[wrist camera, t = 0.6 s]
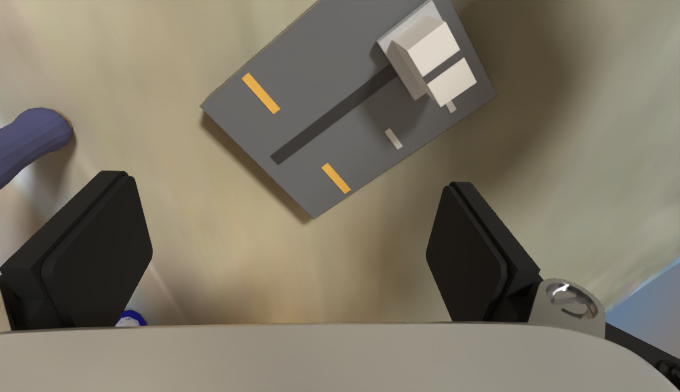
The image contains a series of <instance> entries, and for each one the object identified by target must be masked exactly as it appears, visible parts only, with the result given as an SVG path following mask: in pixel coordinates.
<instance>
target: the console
mask: <svg viewBox="0 0 680 392" xmlns="http://www.w3.org/2000/svg"><path fill="white" fill-rule="evenodd" d="M425 1H427V0H318V1H316V2H315V3H314V4H313V5H312V6H311V7H310V8H308V9H307V10H306V11H305V12H304V13H303V14H302V15H300V16H299V17H298V18H297V19H296V20H295V21H294V22H292V23H291V24H290V25H289V26H288V27H287V28H286V29H284V30H283V31H282V32H281V33H280V34H279V35H278V36H276V37H275V38H274V39H273V40H272V41H271V42H270V43H268V44H267V45H266V46H265V47H264V48H263V49H262V50H260V51H259V52H258V53H257V54H256V55H255V56H254V57H253V58H251V59H250V60H249V61H248V62H247V63H246V64H245V65H243V66H242V67H241V68H240V69H239V70H238V71H237V72H235V73H234V74H233V75H232V76H231V77H230V78H229V79H227V80H226V81H225V82H224V83H223V84H222V85H221V86H219V87H218V88H217V89H216V90H215V91H214V92H213V93H211V94H210V95H209V96H208V97H207V98H206V99H205V101H204V102H203V103H202V104H201V106H200V107H201V108H202V109H203V110H204V111H205V112H206V113H207V114H208V115H209V116H210V117H211V118H212V119H213V120H214V121H215V122H216V123H217V124H218V125H219V126H220V127H221V128H222V129H223V130H224V131H225V132H226V133H227V134H228V135H229V136H230V137H231V138H232V139H233V140H234V141H235V142H236V143H237V144H238V145H239V146H240V147H241V148H242V149H243V150H244V151H245V152H246V153H247V154H248V155H249V156H250V157H251V158H252V159H253V160H254V161H255V162H256V163H257V164H258V165H259V166H260V167H261V168H262V169H263V170H264V171H265V172H266V173H267V174H268V175H269V176H270V177H271V178H272V179H273V180H274V181H275V182H276V183H278V184H279V185H280V186H281V187H282V188H283V189H284V190H285V191H286V192H287V193H288V194H289V195H290V196H291V197H292V198H293V199H294V200H295V201H296V202H297V203H298V204H299V205H300V206H301V207H302V208H303V209H304V210H305V211H306V212H307V213H308V214H309V215H310V216H311V217H312V218H313V219H315V218H317V217H318V216H319V215H321V214H322V213H324V212H325V211H327V210H328V209H330V208H331V207H333V206H334V205H336V204H337V203H339V202H340V201H342V200H343V199H345V198H346V197H348V196H349V195H351V194H352V193H354V192H355V191H357V190H358V189H360V188H361V187H363V186H364V185H365V184H367V183H368V182H370V181H371V180H373V179H374V178H376V177H377V176H379V175H380V174H382V173H383V172H385V171H386V170H388V169H389V168H391V167H392V166H394V165H395V164H397V163H398V162H400V161H401V160H403V159H404V158H406V157H407V156H409V155H410V154H411V153H413V152H414V151H416V150H417V149H419V148H420V147H422V146H423V145H425V144H426V143H428V142H429V141H431V140H432V139H434V138H435V137H437V136H438V135H440V134H441V133H443V132H444V131H446V130H447V129H449V128H450V127H452V126H453V125H455V124H456V123H457V122H459V121H460V120H462V119H463V118H465V117H466V116H468V115H469V114H471V113H472V112H474V111H475V110H477V109H478V108H480V107H481V106H483V105H484V104H486V103H487V102H489V101H490V100H492V99H493V98H495V97H496V96H497V94H496V92H495V90H494V88H493V86H492V84H491V82H490V80H489V78H488V76H487V74H486V72H485V70H484V68H483V66H482V64H481V61H480V59H479V57H478V55H477V53H476V51H475V49H474V47H473V45H472V43H471V41H470V39H469V37H468V35H467V33H466V31H465V29H464V27H463V25H462V23H461V21H460V19H459V17H458V15H457V13H456V11H455V8H454V6H453V4H452V2H451V0H432V1H433V3H434V5H435V7H436V9H437V11H438V12H439V14H440V16H441V18H442V20H443V21H446V23H447V25H448V27H449V29H450V31H451V33H452V35H453V37H454V39H455V41H456V43H457V45H458V47H459V49H461V50H462V52H463V54H464V56H465V57H464V58H465V60H466V62H467V64H468V66H469V68H470V70H471V72H472V74H473V76H474V78H475V80H476V83H475V84H473V85H472V86H471V87H469V88H468V89H466V90H465V91H463V92H462V93H461V94H459V95H458V96H456V97H455V98H453V99H452V100H450V101H449V102H448V103H446V104H445V105H443V106H442V107H440V106H439V105H438V104H437V103H436V102H435V101H434V100H433V99H432V98H431V97H430V96H429V95H428V94H427V93H425V94H424V95H422V96H421V97H420V98H418V99H417V100H414V99H413V98H412V96H411V95H410V93H409V92H408V90H407V88H406V87H405V85H404V84H403V82H402V81H401V79H400V77H399V76H398V74H397V73H396V71H395V70H394V68H393V66H392V65H391V63H390V62H389V60H388V59H387V57H386V55H385V54H384V52H383V51H382V49H381V48H380V46H379V44H378V43H377V41H376V40H378V39H379V38H380V37H381V36H383V35H384V34H385V33H386V32H388V31H389V30H390V29H391V28H393V27H394V26H395V25H396V24H398V23H399V22H400V21H401V20H403V19H404V18H405V17H406V16H408V15H409V14H410V13H411V12H413V11H414V10H415V9H417V8H418V7H419V6H420V5H422V4H423V3H424V2H425Z"/></svg>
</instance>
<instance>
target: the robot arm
mask: <svg viewBox="0 0 680 392" xmlns="http://www.w3.org/2000/svg"><path fill="white" fill-rule="evenodd" d="M152 254H153V249H152V244H151V240H150V236H149V233H148V229H147V225H146V221H145V217H144V213H143V209H142V205H141V201H140V197H139V193H138V189H137V185H136V182H135V179H134V178H133V177H132V176H128V174H127V173H126V172H125V171H101V172H99V173H98V174H97V175H96V176H95V177H94V178H93V179H92V180H91V181H90V182H89V183H88V184H87V185H86V186H85V187H83V188H82V189H81V190H80V191H79V192H78V193H77V194H76V195H75V196H74V197H73V198H72V199H71V200H70V201H69V202H68V203H67V204H66V205H65V206H64V207H63V208H62V209H60V210H59V211H58V212H57V213H56V214H55V215H54V216H53V217H52V218H51V219H50V220H49V221H48V222H47V223H46V224H45V225H44V226H43V227H42V228H41V229H40V230H39V231H37V232H36V233H35V234H34V235H33V236H32V237H31V238H30V239H29V240H28V241H27V242H26V243H25V244H24V245H23V246H22V247H21V248H20V249H19V250H18V251H17V252H16V253H14V254H13V255H12V256H11V257H10V258H9V259H8V260H7V261H6V262H5V263H4V264H3V265H2V266H1V267H0V271H1V273H2V275H1V276H0V392H680V359H678V358H676V357H674V356H672V355H670V354H668V353H666V352H664V351H662V350H660V349H658V348H656V347H654V346H652V345H650V344H648V343H646V342H644V341H642V340H640V339H638V338H636V337H634V336H632V335H630V334H628V333H626V332H624V331H622V330H620V329H618V328H616V327H614V326H612V325H610V324H608V323H606V314H605V309H604V307H603V306H602V304H601V303H600V301H599V300H598V299H597V298H596V297H595V296H594V295H593V294H591V293H590V292H589V291H587V290H586V289H584V288H583V287H581V286H579V285H577V284H575V283H572V282H569V281H566V280H563V279H556V278H553V279H546V280H543V279H542V278H541V276H540V275H539V274H538V273H539V271H540V268H539V267H538V266H537V265H536V263H535V262H534V261H533V260H532V258H531V257H530V256H529V255H528V253H527V252H526V251H525V250H524V248H523V247H522V246H521V245H520V243H519V242H518V241H517V240H516V238H515V237H514V236H513V235H512V233H511V232H510V231H509V230H508V228H507V227H506V226H505V225H504V223H503V222H502V221H501V220H500V218H499V217H498V216H497V215H496V213H495V212H494V211H493V210H492V208H491V207H490V206H489V205H488V203H487V202H486V201H485V200H484V198H483V197H482V196H481V195H480V193H479V192H478V191H477V190H476V188H475V187H474V186H473V185H472V184H471V183H470V182H451V183H450V184H449V186H445V187H444V189H443V192H442V195H441V199H440V203H439V206H438V210H437V214H436V217H435V221H434V224H433V228H432V232H431V235H430V239H429V243H428V246H427V250H426V259H427V263H428V265H429V267H430V270H431V272H432V274H433V277H434V279H435V281H436V284H437V286H438V288H439V291H440V293H441V296H442V298H443V300H444V303H445V305H446V307H447V310H448V312H449V314H450V317H451V319H452V321H453V322H342V323H274V324H215V325H167V326H119V327H115V326H116V324H117V322H118V320H119V318H120V316H121V315H122V313H123V311H124V309H125V307H126V305H127V304H128V302H129V300H130V298H131V296H132V294H133V292H134V291H135V289H136V287H137V285H138V283H139V281H140V280H141V278H142V276H143V274H144V272H145V270H146V268H147V267H148V265H149V263H150V261H151V259H152Z"/></svg>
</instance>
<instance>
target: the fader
mask: <svg viewBox="0 0 680 392" xmlns="http://www.w3.org/2000/svg"><path fill="white" fill-rule="evenodd" d="M376 41H377V43H378V44H379V46H380V48H381V49H382V51H383V52H384V54H385V55H386V57H387V59H388V60H389V62H390V63H391V65H392V66H393V68H394V70H395V71H396V73H397V74H398V76H399V77H400V79H401V81H402V82H403V84H404V85H405V87H406V88H407V90H408V92H409V93H410V95H411V96H412V98H413V99H414V100H417V99H418V98H420V97H421V96H422V95H424V94H425V93H427V94H428V95H429V96H430V97H431V98H432V99H433V100H434V101H435V102H436V103H437V104H438V105H439V106H440V107H442V106H443V105H445V104H446V103H448V102H449V101H450V100H452V99H453V98H455V97H456V96H458V95H459V94H461V93H462V92H463V91H465V90H466V89H468V88H469V87H471V86H472V85H473V84H475V83H476V80H475V78H474V76H473V74H472V72H471V70H470V68H469V66H468V64H467V62H466V60H465V58H464V57H465V56H464V54H463V52H462V50H461V49H459V47H458V45H457V43H456V41H455V39H454V37H453V35H452V33H451V31H450V29H449V27H448V25H447V23H446V21H443V20H442V18H441V16H440V14H439V12H438V11H437V9H436V7H435V5H434V3H433V1H432V0H427V1H425V2H424V3H423V4H422V5H420V6H419V7H418V8H417V9H415V10H414V11H413V12H411V13H410V14H409V15H408V16H406V17H405V18H404V19H403V20H401V21H400V22H399V23H398V24H396V25H395V26H394V27H393V28H391V29H390V30H389V31H388V32H386V33H385V34H384V35H383V36H381V37H380V38H379V39H378V40H376Z"/></svg>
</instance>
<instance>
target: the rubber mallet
mask: <svg viewBox="0 0 680 392" xmlns="http://www.w3.org/2000/svg"><path fill="white" fill-rule="evenodd" d="M71 132H72V125H71V123H70V121H69V119H68V118H67V117H66V116H64V115H63V114H62V113H60V112H58V111H56V110H51V109H46V108H42V107H41V108H33V109H28V110H26V111H24V112H23V113H21V114H20V115H19V116H18V117H17V118H16V119H15V120H14V122H13V123H11V124H9V125H7V126H5V127H3V128H1V129H0V189H2V188H3V187H4V186H6V185H7V184H8V183H9V182H10V181H11V180H12V179H13V178H14V177H15V176H16V175H17V174H18V173H19V172H20V171H21V170H22V169H24V168H25V167H26V166H28V165H29V164H31V163H32V162H34V161H35V160H36V159H38V158H39V157H41V156H42V155H44V154H47V153H49V152H53V151H56V150H59V149H61V148H62V147H64V146H65V145H67V144H68V142H69V140H70V138H71Z"/></svg>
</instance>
